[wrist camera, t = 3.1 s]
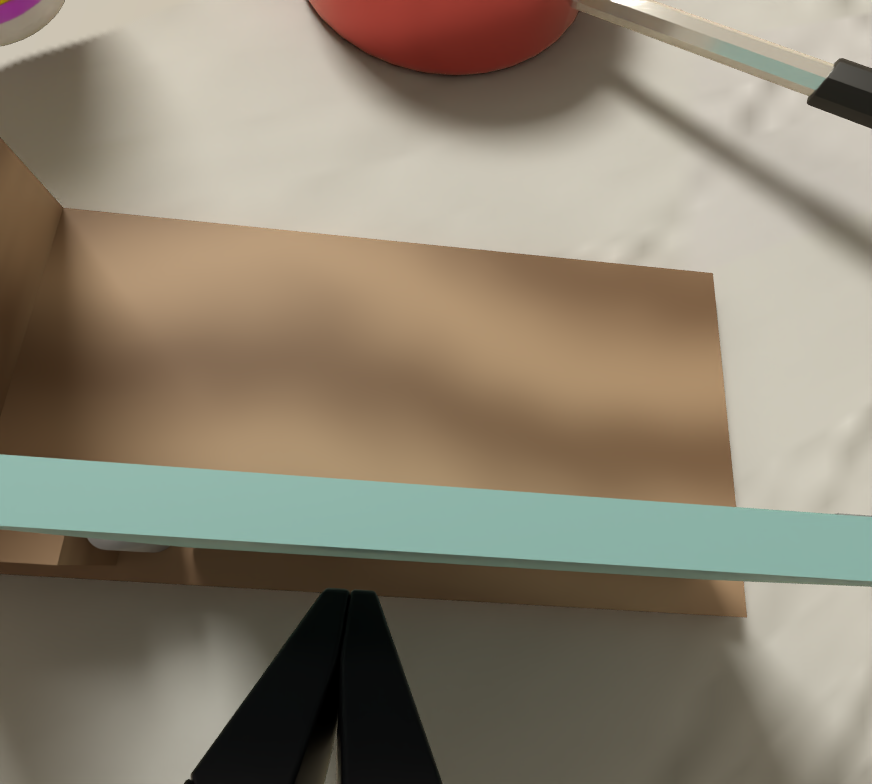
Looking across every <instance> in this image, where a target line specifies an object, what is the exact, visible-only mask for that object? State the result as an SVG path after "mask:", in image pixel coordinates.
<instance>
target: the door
mask: <svg viewBox="0 0 872 784" xmlns="http://www.w3.org/2000/svg"><path fill="white" fill-rule="evenodd" d="M0 529H1V530H12V531H22V532H33V533H43V534H53V535H64V536H74V537H85V538H87V539H88V540H89V542H90V543H91V544H92V545H93V546H95V547H97V548H99V549H103V550H116V551H133V552H150V553H156V552H161V551H163V550H165V549H167V548H168V547H170V546H178V547H190V548H206V549H222V550H238V551H254V552H270V553H286V554H302V555H318V556H334V557H350V558H366V559H382V560H398V561H414V562H430V563H446V564H462V565H478V566H494V567H510V568H526V569H542V570H558V571H574V572H590V573H606V574H622V575H638V576H654V577H670V578H686V579H702V580H726V581H750V582H774V583H798V584H822V585H846V586H870V587H872V516H866V515H852V514H823V513H810V512H796V511H782V510H768V509H754V508H740V507H726V506H712V505H698V504H684V503H670V502H656V501H642V500H628V499H615V498H601V497H587V496H573V495H559V494H545V493H531V492H517V491H503V490H489V489H475V488H461V487H447V486H434V485H420V484H406V483H392V482H378V481H364V480H350V479H336V478H322V477H308V476H294V475H280V474H266V473H252V472H239V471H225V470H211V469H197V468H183V467H169V466H155V465H141V464H127V463H113V462H99V461H85V460H71V459H57V458H44V457H30V456H16V455H2V454H0Z"/></svg>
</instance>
